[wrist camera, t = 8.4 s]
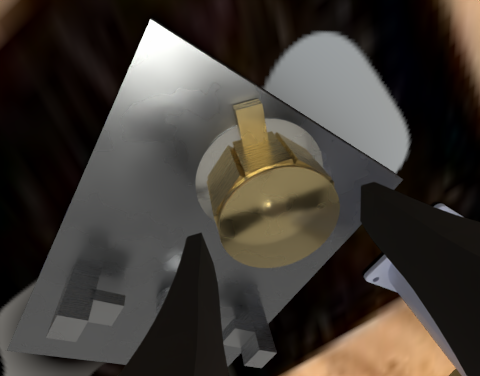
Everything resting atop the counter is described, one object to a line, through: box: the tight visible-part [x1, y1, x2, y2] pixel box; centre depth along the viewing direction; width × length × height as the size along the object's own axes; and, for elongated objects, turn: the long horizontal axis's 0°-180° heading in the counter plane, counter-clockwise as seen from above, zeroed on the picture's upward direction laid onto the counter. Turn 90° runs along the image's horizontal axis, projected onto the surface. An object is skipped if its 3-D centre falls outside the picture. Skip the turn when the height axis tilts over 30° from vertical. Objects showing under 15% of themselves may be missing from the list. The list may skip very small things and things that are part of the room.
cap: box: [207, 99, 340, 268], centre depth 15 cm, size 9×6×4 cm, turn 12°
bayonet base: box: [7, 18, 403, 368], centre depth 18 cm, size 16×22×4 cm
